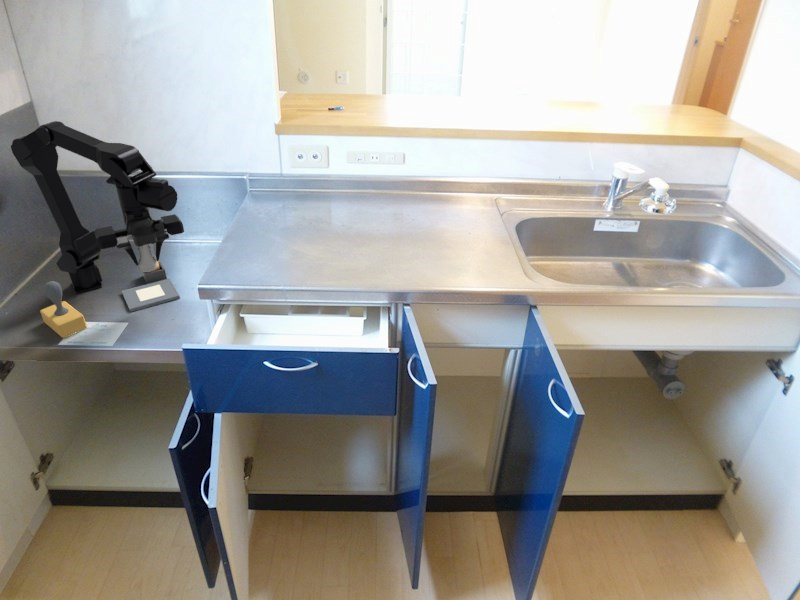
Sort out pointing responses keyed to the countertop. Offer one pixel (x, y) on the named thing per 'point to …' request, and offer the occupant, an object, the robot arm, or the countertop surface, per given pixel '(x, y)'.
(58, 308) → the rubber stamp
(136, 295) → the slate board
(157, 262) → the button
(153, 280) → the button housing
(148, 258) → the rook chess piece
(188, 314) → the countertop surface
